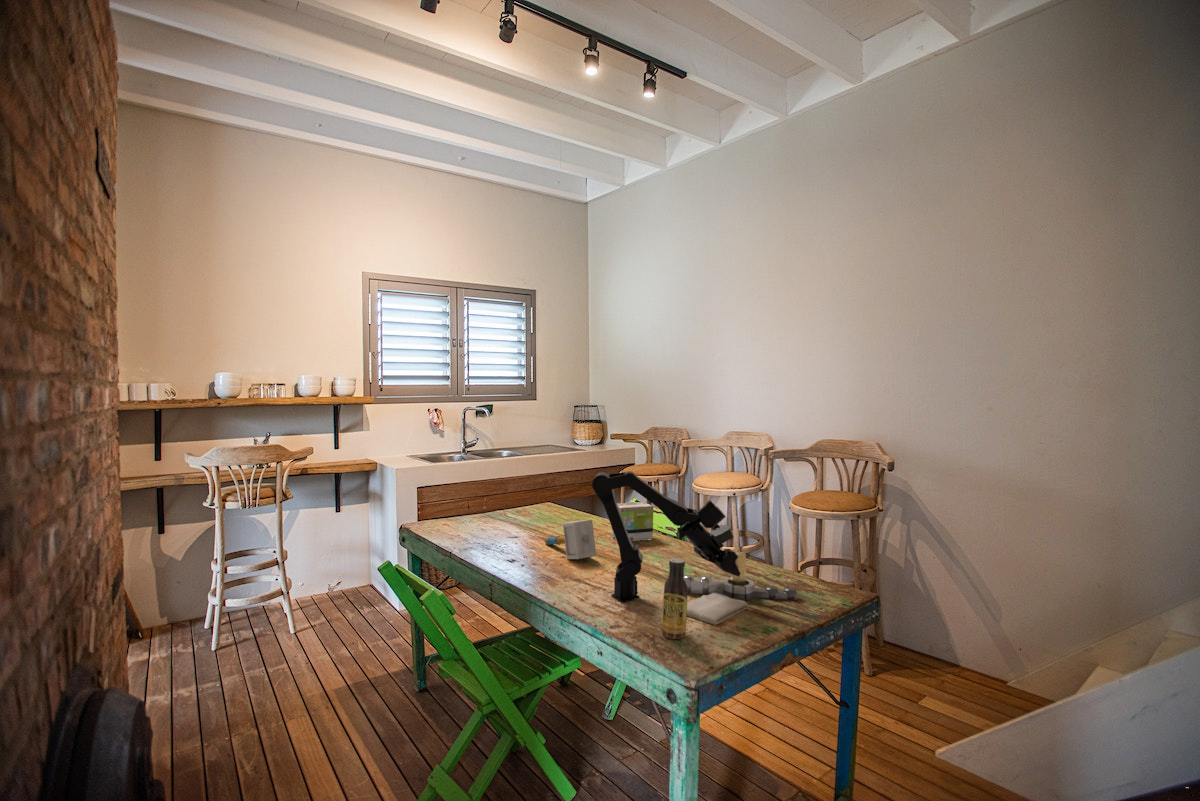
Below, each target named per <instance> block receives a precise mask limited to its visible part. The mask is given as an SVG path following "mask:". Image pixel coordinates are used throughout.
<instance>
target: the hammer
mask: <svg viewBox="0 0 1200 801" xmlns="http://www.w3.org/2000/svg"><path fill="white" fill-rule="evenodd" d="M562 528H563V536H560V535H558V536H549V537H546V538H545V539H544V543H545V545H549V546H553V545H559V546H560V545H563V544H564V546H565V554H566V559H567V560H582V559H586V558H587V559H588V558H591V557H597V554H598V553H597V546H596V540H595V532H594V524H593V519H590V518H589V519H584V520H583V519H581V520H575V521H569V522H563V523H562Z"/></svg>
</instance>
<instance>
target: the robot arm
mask: <svg viewBox="0 0 1200 801" xmlns="http://www.w3.org/2000/svg"><path fill="white" fill-rule="evenodd" d="M591 486H592V489H593V491H594V493H595V494H596V496H597V498H598V499H599V501H600V502H601V503H602V505H603V507H604V509H605V510H604V511H605V513H606V515H607V518H608V520H609V523H610V525H611V526H610V527H611V530H612V529H613V532H614V534H615V537H616V539H615V541H616V542H617V545H618V549H619V555H620V563H618V565H617V566H616V568H615V569H616V570H615V577H614V579H613V580H614V592H613V593H611V597H613V598H614V599H616V600H618V601H620V602H622V603H625V602H629V601H632V600H637V598H638V599H640V597H641V596H640V595H638V580H637V576H636V575H638V574H639V573H640V572H641V571H642V563H643V559H644V558H643V557H644V556H643V554H642V553H641V551H640V547H639V546H640V545H639V544H635V545H634V544H633V541H630V538H629V535H628V533H627V530H626V527H625V524H624V522H623V519H622V516H621V514H620V511H619V508H618V506H617V503H618V502H617V500H616V494H615V489H619V488H624V487H630V488H631V489H632V490H633V491H635V492H636V493H638V494H639V495H640V496H642V498H644V499H646V500H647V501H649V502H650V503H651V504H652V505H654V506H655V507H657V508H658V509H659V511H661V512H662V514H664V515H665V517H666V518H667V519H668V520H669V522H671V523H672V524H673V525H675V526H676V527H677V528H676V531H677V532H676V536H677V537H678V540H682V539H683V538H685V537H686V538H687V539H688V540H689V541H690V542H691V543H692V546H693V547H694V548H693V552H694V553H695V554H696V555H697V556H699V557H700V558H702V559H704V560H706V561H708V562H710V563H713V564H715V566H716V567H717V568H719V569H720V570H721V571H723V572H725V573H728V574H730V575H731V574H733V575H735V576H738V577H739V576H740V572H739V570H738V568H737V565H736V563H735V561H736V559H737V558H738V555H737V554H736V553H735V552H736V551H734V550H732V549H730V548H724V549H723V547H724V543H725V542H728V541H730V540H732V539H733V538H734V534H733V533H732V532H733V531H732V530H731V527H729V526H727V525H725V524H720V525H719V523H721V521H723V520H724V519H725V518H727V517H726V514H725V513H724V512H723V511H722V510H721V509H720V508H719V506H717V505H715V503H714V502H712V500H710V499H709V500H708V501H707V502H706V503H705V504H704V505H703V506H702V507H700V509H699V510H697V509H694V508H689V507H687V506H686V505H684V504H683V503H681V502H679V501H677V500H674V499H672V498H670V497H668V496H665V495H664V494H662V492H660V491H658V490H657V489H656V488H654V487H653V486H651V485H650V484H649V483H648V482H646V481H645V480H644V479H642V478H640V477H639V476H638V475H637V474H635V472H633V471H630V470H629V471H625V472H615V473H608V472H604V471H602V472H598V473H597V474H596V475H595V476H594V478H593V479H592V482H591ZM706 529H710V530H711V531H710V532H709V531H708V530H706ZM722 549H723V550H722Z"/></svg>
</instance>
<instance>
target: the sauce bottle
mask: <svg viewBox="0 0 1200 801" xmlns="http://www.w3.org/2000/svg"><path fill="white" fill-rule="evenodd" d="M668 565H669V566H668V567H669V571H668V577H667V579H666V581H665V582H664V589H663V595H662V596H663V598H662V614H661V615H662V616H661V631H662V632H661V634H662V636H663V637H665V638H667V639H669V640H681V639H683V638H684V637H685V636H686V630H687V616H686V615H687V604H688V593H687V585H686V583H685V581H684V575H685V574H684V573H685V566H686V561H685V560H684V559H682V558H678V557H677V558H675V557H674V558H669V561H668Z"/></svg>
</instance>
